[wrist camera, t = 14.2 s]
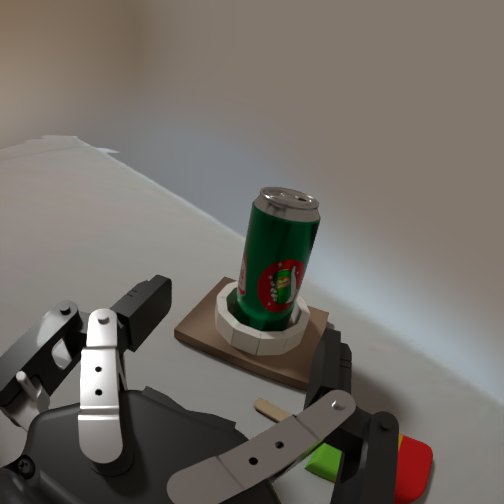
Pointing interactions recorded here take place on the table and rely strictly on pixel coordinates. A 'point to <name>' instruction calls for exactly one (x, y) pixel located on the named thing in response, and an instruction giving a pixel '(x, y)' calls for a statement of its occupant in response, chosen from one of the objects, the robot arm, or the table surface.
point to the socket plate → (254, 337)
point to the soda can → (275, 257)
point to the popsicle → (408, 468)
